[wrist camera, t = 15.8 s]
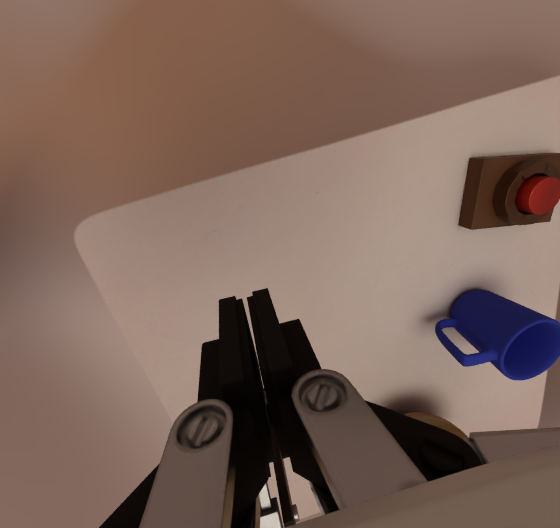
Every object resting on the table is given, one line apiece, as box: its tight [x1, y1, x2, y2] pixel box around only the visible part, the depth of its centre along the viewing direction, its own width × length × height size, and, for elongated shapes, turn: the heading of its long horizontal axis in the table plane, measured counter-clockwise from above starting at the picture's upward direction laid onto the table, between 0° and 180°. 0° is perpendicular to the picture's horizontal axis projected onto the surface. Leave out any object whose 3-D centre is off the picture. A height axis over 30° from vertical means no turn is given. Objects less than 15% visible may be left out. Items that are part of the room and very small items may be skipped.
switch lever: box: [259, 391, 283, 528], centre depth 33 cm, size 14×5×2 cm, turn 10°
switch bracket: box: [263, 389, 299, 528], centre depth 37 cm, size 10×8×15 cm
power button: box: [515, 176, 560, 215], centre depth 34 cm, size 4×4×2 cm
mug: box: [435, 290, 560, 380], centre depth 39 cm, size 8×12×10 cm
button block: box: [459, 153, 560, 230], centre depth 36 cm, size 11×8×4 cm
